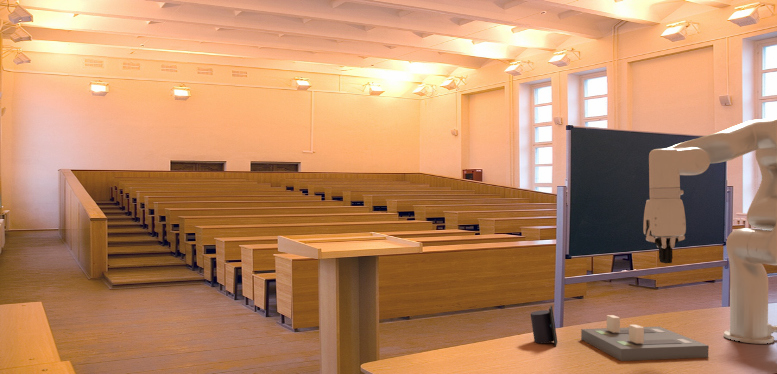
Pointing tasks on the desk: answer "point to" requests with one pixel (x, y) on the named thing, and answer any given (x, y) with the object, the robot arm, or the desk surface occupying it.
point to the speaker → (544, 326)
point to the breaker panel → (645, 344)
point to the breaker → (613, 323)
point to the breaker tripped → (636, 333)
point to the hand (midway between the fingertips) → (665, 262)
